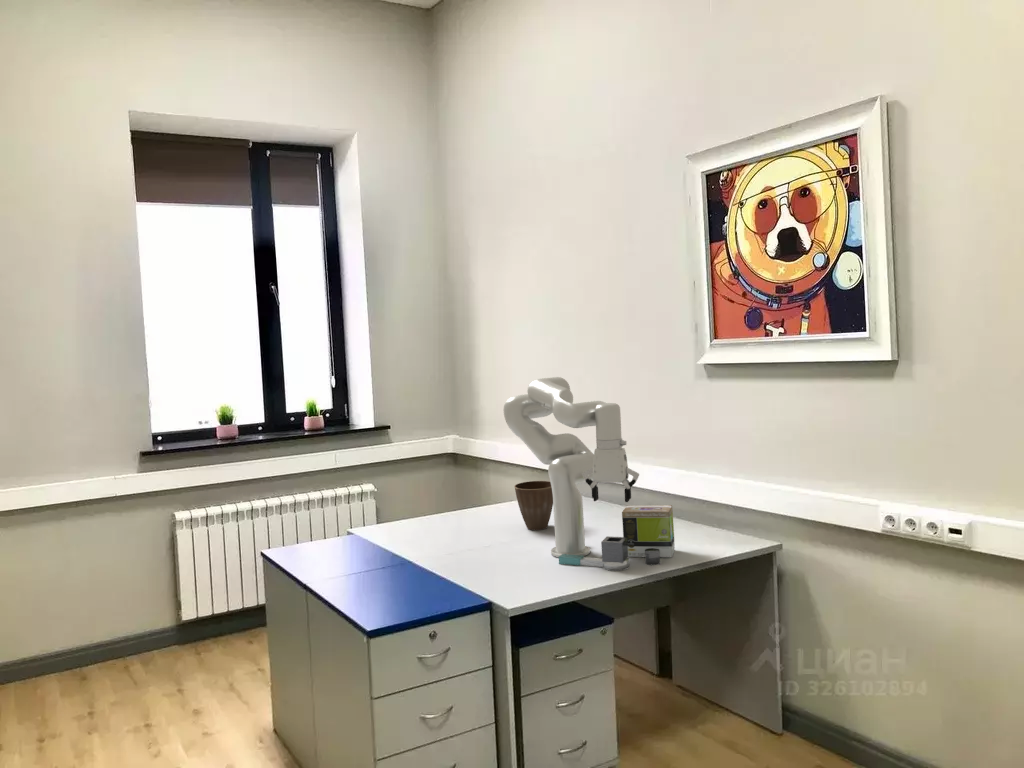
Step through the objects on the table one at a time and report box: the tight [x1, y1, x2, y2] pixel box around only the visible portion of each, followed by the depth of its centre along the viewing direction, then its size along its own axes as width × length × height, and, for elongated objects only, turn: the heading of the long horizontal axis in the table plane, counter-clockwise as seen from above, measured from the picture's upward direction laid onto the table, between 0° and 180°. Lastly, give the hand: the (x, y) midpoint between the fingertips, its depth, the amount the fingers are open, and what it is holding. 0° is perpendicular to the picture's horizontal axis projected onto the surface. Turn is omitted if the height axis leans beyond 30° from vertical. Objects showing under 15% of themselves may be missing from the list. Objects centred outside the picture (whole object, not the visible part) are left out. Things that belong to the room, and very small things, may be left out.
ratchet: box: [558, 554, 630, 572], centre depth 256 cm, size 22×8×6 cm, turn 64°
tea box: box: [621, 504, 676, 558], centre depth 265 cm, size 15×10×15 cm, turn 73°
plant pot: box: [514, 480, 554, 531], centre depth 306 cm, size 15×15×16 cm
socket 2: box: [644, 548, 661, 566], centre depth 255 cm, size 4×4×4 cm
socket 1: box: [600, 536, 629, 563], centre depth 252 cm, size 6×6×6 cm
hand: (611, 500), depth 252 cm, fingers open, 9 cm apart
